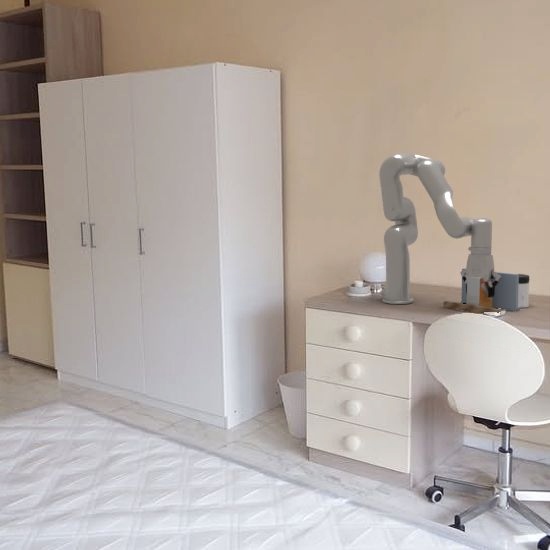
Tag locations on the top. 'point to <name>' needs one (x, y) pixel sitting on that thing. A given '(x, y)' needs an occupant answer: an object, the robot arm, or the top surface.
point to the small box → (478, 292)
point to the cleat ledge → (469, 307)
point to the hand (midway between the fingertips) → (479, 295)
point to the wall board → (502, 292)
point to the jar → (523, 291)
